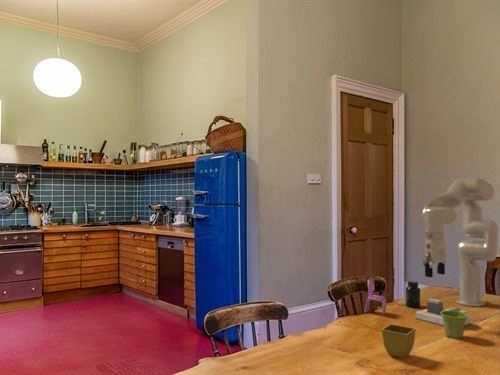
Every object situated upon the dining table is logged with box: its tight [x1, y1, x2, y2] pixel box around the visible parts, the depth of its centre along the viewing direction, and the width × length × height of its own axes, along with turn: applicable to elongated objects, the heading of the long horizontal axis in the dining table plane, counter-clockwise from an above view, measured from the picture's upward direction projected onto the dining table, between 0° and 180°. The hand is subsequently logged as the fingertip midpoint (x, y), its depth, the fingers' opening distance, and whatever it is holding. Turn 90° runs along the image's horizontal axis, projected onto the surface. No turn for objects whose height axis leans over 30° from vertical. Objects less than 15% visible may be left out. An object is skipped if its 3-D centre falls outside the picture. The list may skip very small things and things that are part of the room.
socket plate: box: [415, 308, 472, 327], centre depth 185 cm, size 12×18×4 cm, turn 36°
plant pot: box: [441, 311, 468, 340], centre depth 166 cm, size 9×9×9 cm
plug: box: [426, 298, 444, 315], centre depth 188 cm, size 4×5×8 cm
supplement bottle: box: [405, 280, 421, 309], centre depth 210 cm, size 7×7×12 cm
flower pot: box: [381, 323, 416, 359], centre depth 146 cm, size 9×9×9 cm
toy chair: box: [363, 279, 387, 316], centre depth 199 cm, size 8×9×15 cm
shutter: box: [442, 306, 468, 318], centre depth 181 cm, size 7×7×4 cm
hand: (435, 275), depth 188 cm, fingers open, 9 cm apart
